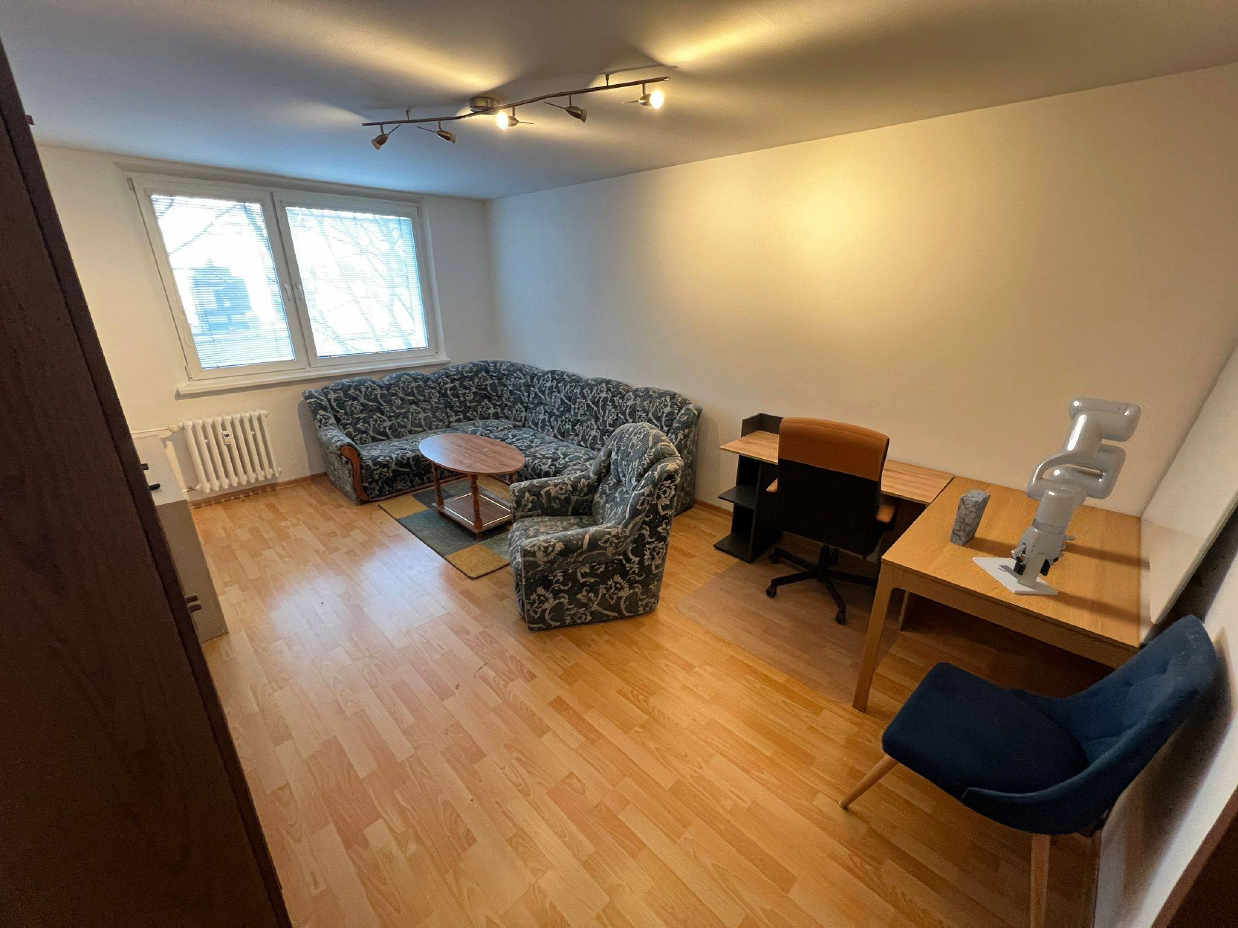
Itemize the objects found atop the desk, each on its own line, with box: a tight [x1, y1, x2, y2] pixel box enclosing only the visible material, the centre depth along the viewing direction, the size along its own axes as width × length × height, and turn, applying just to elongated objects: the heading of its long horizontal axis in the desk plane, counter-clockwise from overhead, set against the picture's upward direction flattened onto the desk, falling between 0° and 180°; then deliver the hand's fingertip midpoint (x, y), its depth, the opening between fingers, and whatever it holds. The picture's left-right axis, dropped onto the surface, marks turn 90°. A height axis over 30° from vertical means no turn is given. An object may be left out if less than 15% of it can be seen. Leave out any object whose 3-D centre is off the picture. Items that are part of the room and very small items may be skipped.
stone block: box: [949, 488, 991, 547], centre depth 183 cm, size 13×7×20 cm, turn 132°
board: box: [972, 556, 1059, 596], centre depth 163 cm, size 14×20×1 cm
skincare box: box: [1017, 554, 1047, 588], centre depth 155 cm, size 6×4×12 cm
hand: (1029, 573), depth 156 cm, fingers closed on skincare box, 7 cm apart
